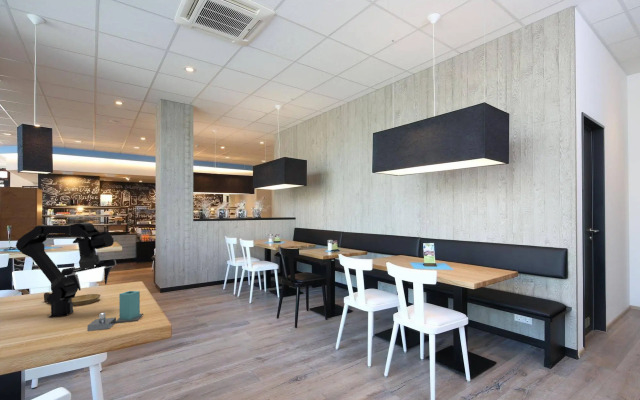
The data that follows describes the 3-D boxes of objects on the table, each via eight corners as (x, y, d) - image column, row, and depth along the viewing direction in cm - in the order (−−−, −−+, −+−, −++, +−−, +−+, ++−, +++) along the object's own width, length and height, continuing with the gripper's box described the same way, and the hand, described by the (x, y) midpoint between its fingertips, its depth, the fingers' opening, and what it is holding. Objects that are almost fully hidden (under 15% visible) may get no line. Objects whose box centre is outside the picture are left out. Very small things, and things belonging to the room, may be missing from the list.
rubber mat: (115, 323, 124) (115, 321, 124) (121, 317, 132) (121, 315, 132) (137, 320, 126) (137, 319, 126) (143, 314, 134) (143, 313, 134)
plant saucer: (57, 308, 148) (57, 303, 148) (71, 300, 162) (71, 295, 162) (94, 305, 152) (94, 300, 152) (105, 297, 166) (105, 292, 166)
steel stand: (87, 330, 117) (87, 317, 117) (95, 324, 123) (95, 311, 124) (109, 328, 119) (109, 315, 119) (115, 322, 125) (115, 309, 125)
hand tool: (62, 305, 153) (62, 296, 153) (52, 307, 149) (52, 297, 150) (52, 300, 164) (52, 291, 164) (41, 301, 161) (42, 292, 161)
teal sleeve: (119, 319, 127) (119, 293, 128) (129, 315, 132) (129, 290, 133) (129, 319, 126) (129, 294, 127) (139, 315, 131) (139, 291, 131)
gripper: (55, 256, 126) (61, 295, 125) (111, 245, 135) (116, 282, 134) (62, 256, 136) (67, 293, 135) (113, 247, 145) (119, 281, 144)
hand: (93, 287), depth 137 cm, fingers open, 9 cm apart
